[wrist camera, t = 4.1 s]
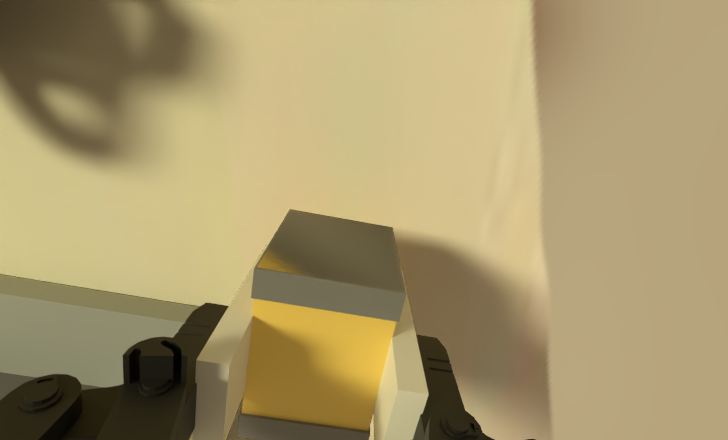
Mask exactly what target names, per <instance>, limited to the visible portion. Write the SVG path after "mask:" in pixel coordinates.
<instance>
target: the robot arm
mask: <svg viewBox="0 0 728 440" xmlns="http://www.w3.org/2000/svg"><path fill="white" fill-rule="evenodd" d="M267 246H268V245H265V247H264V249H263V250H262V252H261V254H260V255H259V257H258V259H257V260H256V262H255V264H254V265H253V267H252V269H251V270H250V272H249V274H248V275H247V277H246V279H245V280H244V282H243V283H242V285H241V287H240V288H239V290H238V292H237V293H236V295H235V297H234V298H233V300H232V302H231V303H230V305H229V306H224V305H218V304H212V303H205V304H204V305H202V306H200V307H199V308H197V309H195V310H194V311H193V312H192V313H191V314H190V316H189V317H188V318H187V320H186V321H185V324H183V325H182V326H181V328H180V329H179V330H178V333H176V334H175V336H174V337H173V338H171V337H153V338H149V339H146V340H143V341H140V342H138V343H136V344H135V345H133V346H131V347H130V348H129V349H128V350H127V351H126V352H125V353H124V354H123V380H124V384H121V385H118V386H112V387H105V388H96V389H86V390H82V385H81V383H80V382H79V380H78V379H77V378H76V377H73V376H70V375H68V374H51V375H46V376H41V377H38V378H35V379H33V380H30V381H28V382H25V383H23V384H22V385H20V386H19V387H17V388H16V389H14V390H12V391H11V392H10V393H8V394H7V395H6V396H5V397H4V398H2V399H1V400H0V440H189V439H190V436H191V434H192V432H193V440H226V439H227V436H228V434H229V431H230V428H231V426H232V423H233V421H234V418H235V415H236V413H237V410H238V408H239V405H240V402H241V400H242V397H243V395H244V392H245V386H246V377H247V367H248V358H249V348H250V339H251V329H252V320H253V315H252V309H253V298H251V293H252V283H253V273H254V268H255V266H256V264H257V263H258V261H259V260H260V258H261V256H262V255H263V253H264V251H265V250H266V248H267ZM401 271H402V268H401ZM402 276H403V280H404V275H403V271H402ZM404 285H405V280H404ZM405 290H406V298H405V301H404V305H403V309H402V313H401V317H400V321H399V322H396V326H395V330H394V333H393V337H392V339H391V343H390V347H389V351H388V355H387V358H386V362H385V366H384V370H383V374H382V378H381V382H380V386H379V390H378V394H377V397H376V401H375V405H374V409H373V412H374V440H494V439H492V438H490V437H488V436H486V435H485V434H484V433H482V430H481V427H480V425H479V424H478V422H477V421H476V420H475V418H474V417H473V416H471V415H470V414H469V413H468V412H466V411H465V409H464V406H463V402H462V399H461V396H460V393H459V390H458V386H457V383H456V380H455V377H454V374H453V373H452V372H453V370H452V367H451V364H450V363H449V362H450V361H449V358H448V354H447V351H446V349H445V348H444V346H443V345H442V344H441V343H440V341H439V340H438V339H437V338H434V337H427V336H421V335H416V332H415V327H414V322H413V318H412V313H411V308H410V304H409V299H408V294H407V289H406V285H405ZM528 440H535V439H528Z"/></svg>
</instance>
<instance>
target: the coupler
mask: <svg viewBox="0 0 728 440" xmlns="http://www.w3.org/2000/svg"><path fill="white" fill-rule="evenodd" d="M251 298H253V309H252V315H253V320H252V329H251V339H250V348H249V358H248V367H247V377H246V386H245V392H244V395H243V404H242V409H241V411H240V414H239V420H238V430H237V437H240V438H247V439H254V440H369V436H370V423H371V419H372V415H373V409H374V405H375V401H376V397H377V394H378V390H379V386H380V382H381V378H382V374H383V370H384V366H385V362H386V358H387V355H388V351H389V347H390V343H391V339H392V337H393V333H394V330H395V326H396V322H399V321H400V317H401V313H402V309H403V305H404V301H405V298H406V290H405V285H404V280H403V276H402V271H401V266H400V261H399V257H398V252H397V247H396V242H395V238H394V233H393V228H392V227H387V226H381V225H375V224H370V223H364V222H359V221H353V220H347V219H342V218H336V217H330V216H325V215H319V214H314V213H308V212H302V211H297V210H291V209H290V210H289V212H288V213H287V215H286V217H285V218H284V220H283V222H282V223H281V225H280V227H279V228H278V230H277V232H276V233H275V235H274V237H273V238H272V240H271V241H270V243H269V245H268V246H267V248H266V250H265V251H264V253H263V255H262V256H261V258H260V260H259V261H258V263H257V264H256V266H255V268H254V273H253V283H252V293H251Z"/></svg>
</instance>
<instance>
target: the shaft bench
mask: <svg viewBox="0 0 728 440" xmlns="http://www.w3.org/2000/svg"><path fill="white" fill-rule="evenodd" d="M197 308H199V307H198V306H192V305H185V304H179V303H173V302H167V301H161V300H155V299H148V298H142V297H136V296H130V295H124V294H118V293H111V292H105V291H99V290H93V289H87V288H81V287H74V286H68V285H62V284H56V283H50V282H43V281H37V280H31V279H25V278H19V277H13V276H6V275H0V400H1V399H2V398H4V397H5V396H6V395H7V394H8V393H10V392H11V391H12V390H14V389H16V388H17V387H19V386H20V385H22V384H23V383H25V382H28V381H30V380H33V379H35V378H38V377H41V376H46V375H51V374H68V375H70V376H73V377H76V378H77V379H78V380H79V382H80V383H81V385H82V390H86V389H96V388H105V387H112V386H118V385H121V384H124V380H123V354H124V353H125V352H126V351H127V350H128V349H129V348H130V347H131V346H133V345H135V344H136V343H138V342H140V341H143V340H146V339H149V338H153V337H171V338H173V337H174V336H175V334H176V333H178V330H179V329H180V328H181V326H182V325H183V324H185V321H186V320H187V318H188V317H189V316H190V314H191V313H192V312H193V311H194V310H195V309H197ZM189 440H193V432H192V434H191V436H190V439H189Z"/></svg>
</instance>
